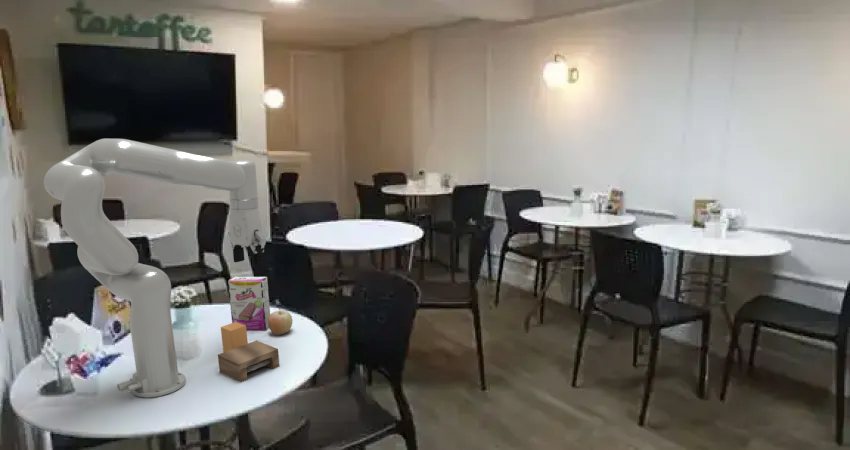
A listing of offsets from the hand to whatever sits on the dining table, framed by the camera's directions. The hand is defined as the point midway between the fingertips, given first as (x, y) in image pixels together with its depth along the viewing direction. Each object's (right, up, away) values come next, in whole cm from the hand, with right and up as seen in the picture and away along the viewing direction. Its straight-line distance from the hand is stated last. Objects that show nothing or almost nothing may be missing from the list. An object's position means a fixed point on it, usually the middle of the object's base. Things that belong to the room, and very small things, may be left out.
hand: (248, 263), depth 174 cm
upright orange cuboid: (-4, -26, +1) cm, 26 cm away
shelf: (+3, -28, -10) cm, 30 cm away
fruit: (+6, -22, +15) cm, 28 cm away
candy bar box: (-5, -22, +20) cm, 30 cm away
